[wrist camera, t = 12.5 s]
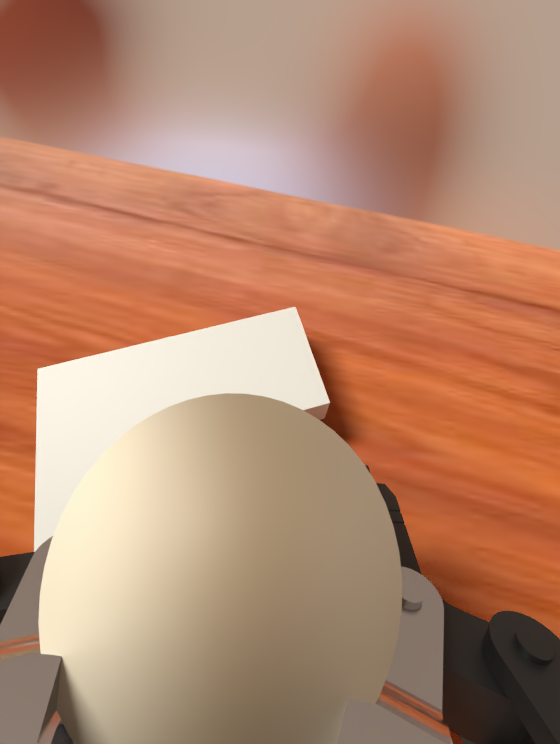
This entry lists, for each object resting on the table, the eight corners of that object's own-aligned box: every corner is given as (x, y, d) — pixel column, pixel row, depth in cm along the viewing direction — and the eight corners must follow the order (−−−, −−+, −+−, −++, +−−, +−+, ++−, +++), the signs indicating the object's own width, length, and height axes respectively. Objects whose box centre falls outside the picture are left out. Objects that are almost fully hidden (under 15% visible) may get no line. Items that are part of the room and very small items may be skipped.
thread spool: (208, 651, 13) (0, 978, 3) (179, 487, 15) (13, 427, 6) (359, 595, 13) (520, 749, 4) (309, 447, 16) (339, 336, 6)
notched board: (79, 958, 11) (23, 1075, 8) (67, 388, 19) (37, 369, 16) (457, 801, 12) (497, 866, 10) (294, 331, 20) (295, 306, 18)
